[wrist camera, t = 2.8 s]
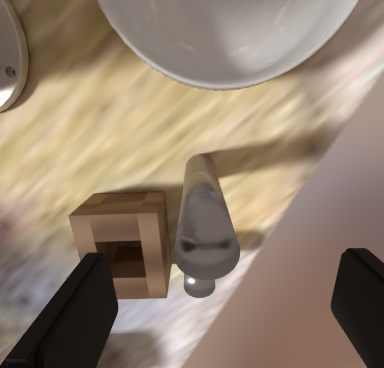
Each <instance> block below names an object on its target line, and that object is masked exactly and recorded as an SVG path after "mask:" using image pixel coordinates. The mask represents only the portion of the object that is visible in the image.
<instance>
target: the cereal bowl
mask: <svg viewBox="0 0 384 368" xmlns="http://www.w3.org/2000/svg"><path fill="white" fill-rule="evenodd" d="M96 1H97V2H98V4H99V6H100V8H101V10H102V12H103V13H104V15H105V16H106V18H107V19H108V21H109V22H110V24H111V26H112V27H113V29H114V30H115V31H116V32H117V33H118V34H119V36H120V37H121V38H122V40H123V41H124V43H125V44H126V45H128V46H129V47H130V48H131V49H132V51H133V52H135V54H136V55H137V56H138V57H139V58H141V59H142V60H143V61H144V62H145V63H147V64H148V65H149V66H150V67H152V68H154V69H155V70H156V71H158V72H159V73H162V74H163V75H165V76H166V77H169V78H170V79H172V80H175V81H177V82H179V83H183V84H185V85H186V86H191V87H195V88H199V89H206V90H214V91H218V90H222V91H226V90H235V89H242V88H248V87H251V86H256V85H258V84H261V83H263V82H266V81H269V80H272V79H274V78H276V77H278V76H280V75H282V74H284V73H286V72H288V71H290V70H291V69H293V68H295V67H296V66H298V65H299V64H301V63H302V62H304V61H305V60H307V59H308V58H309V57H311V56H312V55H313V54H315V53H316V52H317V51H318V50H319V49H320V48H321V47H322V46H323V45H324V44H326V43H327V42H328V41H329V40H330V39H331V37H332V36H333V35H334V34H335V33H336V32H337V31H338V30H339V29H340V27H341V26H342V25H343V24H344V22H345V21H346V20H347V18H348V17H349V16H350V14H351V13H352V11H353V10H354V8H355V7H356V5H357V4H358V2H359V0H96Z"/></svg>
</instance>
